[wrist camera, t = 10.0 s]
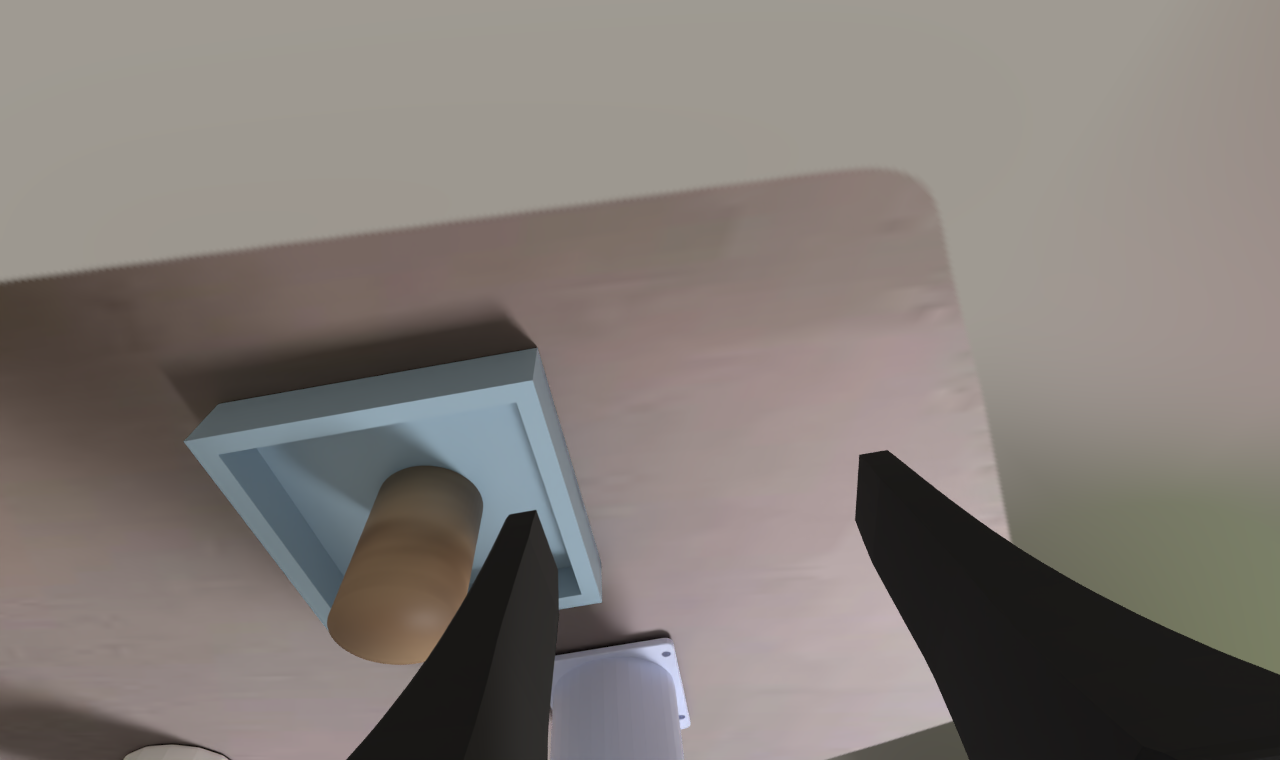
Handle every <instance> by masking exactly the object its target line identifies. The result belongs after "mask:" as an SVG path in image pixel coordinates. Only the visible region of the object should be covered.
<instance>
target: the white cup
mask: <svg viewBox="0 0 1280 760" xmlns="http://www.w3.org/2000/svg"><path fill="white" fill-rule="evenodd" d="M123 760H229V759H227V758H226V757H225V756H223V755H220V754H217V753H215V752H212V751H209V750H205V749H202V748H199V747H191V746H183V745H173V744H170V745H157V746H147V747H144V748H142V749H139V750H137V751H134V752H132V753H129V754H128V755H126V757H125V758H124V759H123Z"/></svg>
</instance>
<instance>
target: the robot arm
mask: <svg viewBox="0 0 1280 760" xmlns="http://www.w3.org/2000/svg"><path fill="white" fill-rule="evenodd" d="M855 521H856V523H857V526H858V529H859V531H860V534H861V536H862V539H863V541H864V544H865V546H866V549H867V551H868V554H869V556H870V558H871V561H872V563H873V565H874V567H875V569H876V571H877V573H878V574H879V576H880V578H881V580H882V582H883V584H884V585H885V587H886V589H887V591H888V593H889V595H890V596H891V598H892V600H893V602H894V604H895V605H896V607H897V609H898V611H899V613H900V615H901V616H902V618H903V620H904V622H905V624H906V625H907V627H908V629H909V631H910V633H911V634H912V636H913V638H914V640H915V642H916V643H917V645H918V647H919V649H920V651H921V652H922V654H923V656H924V658H925V660H926V662H927V664H928V666H929V668H930V670H931V672H932V674H933V676H934V678H935V680H936V683H937V685H938V687H939V689H940V692H941V694H942V696H943V699H944V701H945V703H946V705H947V708H948V710H949V712H950V715H951V717H952V719H953V722H954V724H955V726H956V729H957V731H958V733H959V736H960V738H961V741H962V743H963V745H964V748H965V750H966V752H967V755H968V757H969V760H1280V675H1279V674H1276V673H1274V672H1271V671H1269V670H1266V669H1264V668H1261V667H1259V666H1256V665H1253V664H1251V663H1248V662H1246V661H1243V660H1241V659H1238V658H1236V657H1233V656H1231V655H1227V654H1225V653H1223V652H1221V651H1218V650H1216V649H1213V648H1211V647H1209V646H1207V645H1204V644H1202V643H1200V642H1198V641H1195V640H1193V639H1191V638H1188V637H1186V636H1184V635H1182V634H1179V633H1177V632H1175V631H1173V630H1170V629H1168V628H1166V627H1164V626H1162V625H1160V624H1157V623H1155V622H1153V621H1151V620H1149V619H1147V618H1145V617H1143V616H1141V615H1138V614H1136V613H1134V612H1132V611H1131V610H1128V609H1126V608H1125V607H1123V606H1121V605H1119V604H1117V603H1115V602H1113V601H1111V600H1109V599H1107V598H1105V597H1103V596H1101V595H1099V594H1097V593H1095V592H1093V591H1092V590H1090V589H1088V588H1086V587H1084V586H1082V585H1080V584H1079V583H1076V582H1075V581H1073V580H1071V579H1070V578H1068V577H1066V576H1064V575H1063V574H1061V573H1059V572H1058V571H1056V570H1054V569H1053V568H1051V567H1049V566H1047V565H1046V564H1044V563H1042V562H1041V561H1039V560H1037V559H1036V558H1034V557H1032V556H1031V555H1029V554H1028V553H1026V552H1024V551H1023V550H1021V549H1020V548H1018V547H1016V546H1015V545H1013V544H1012V543H1011V542H1009V541H1008V540H1006V539H1005V538H1003V537H1002V536H1000V535H999V534H997V533H996V532H994V531H993V530H991V529H990V528H988V527H987V526H986V525H984V524H983V523H981V522H980V521H979V520H977V519H976V518H974V517H973V516H972V515H970V514H969V513H968V512H966V511H965V510H964V509H962V508H961V507H960V506H958V505H957V504H955V503H954V502H953V501H951V500H950V499H949V498H947V497H946V496H945V495H944V494H942V493H941V492H940V491H938V490H937V489H936V488H935V487H933V486H932V485H931V484H929V483H928V482H927V481H926V480H924V479H923V478H922V477H921V476H919V475H918V474H917V473H916V472H914V471H913V470H912V469H911V468H909V467H908V466H907V465H906V464H904V463H903V462H902V461H901V460H899V459H898V458H897V457H896V456H894V455H893V454H892V453H890V452H889V451H888V450H885V451H879V452H874V453H868V454H862V455H859V469H858V485H857V500H856V516H855ZM558 618H559V590H558V568H557V566H556V563H555V560H554V557H553V555H552V552H551V549H550V546H549V544H548V541H547V538H546V535H545V533H544V530H543V527H542V524H541V522H540V519H539V516H538V513H537V511H536V510H532V511H526V512H520V513H514V514H509V516H508V517H507V518H506V520H505V522H504V524H503V526H502V528H501V530H500V532H499V534H498V536H497V538H496V540H495V542H494V544H493V546H492V548H491V550H490V552H489V554H488V556H487V558H486V560H485V562H484V564H483V566H482V568H481V570H480V572H479V574H478V575H477V577H476V579H475V581H474V583H473V584H472V586H471V588H470V590H469V592H468V593H467V595H466V597H465V599H464V601H463V602H462V604H461V606H460V607H459V609H458V611H457V612H456V614H455V616H454V617H453V619H452V620H451V622H450V624H449V625H448V627H447V629H446V630H445V632H444V633H443V635H442V637H441V638H440V640H439V641H438V643H437V644H436V646H435V647H434V649H433V650H432V652H431V653H430V655H429V656H428V658H427V659H426V661H425V662H424V664H423V665H422V666H421V668H420V669H419V671H418V672H417V673H416V675H415V676H414V678H413V679H412V680H411V682H410V683H409V684H408V686H407V687H406V688H405V690H404V691H403V692H402V694H401V695H400V696H399V697H398V699H397V700H396V701H395V703H394V704H393V705H392V706H391V708H390V709H389V710H388V711H387V713H386V714H385V715H384V717H383V718H382V719H381V720H380V721H379V723H378V724H377V725H376V726H375V728H374V729H373V730H372V731H371V732H370V734H369V735H368V736H367V737H366V738H365V739H364V740H363V742H362V743H361V744H360V745H359V746H358V747H357V748H356V749H355V751H354V752H353V753H352V754H351V755H350V756H349V757H348V758H347V759H346V760H547V758H548V725H549V712H550V706H551V709H552V711H553V712H552V732H551V751H550V760H684V753H683V745H682V737H681V729H685V728H687V727H689V726H690V717H689V712H688V708H687V703H686V698H685V694H684V689H683V685H682V680H681V675H680V671H679V666H678V662H677V657H676V652H675V648H674V643H673V641H672V640H671V639H669V638H660V639H653V640H647V641H641V642H635V643H629V644H623V645H617V646H611V647H605V648H598V649H592V650H586V651H580V652H574V653H568V654H562V655H556V656H555V651H556V640H557V629H558Z"/></svg>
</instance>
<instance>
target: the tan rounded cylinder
mask: <svg viewBox="0 0 1280 760" xmlns="http://www.w3.org/2000/svg"><path fill="white" fill-rule="evenodd" d="M482 513H483V500H482V497H481V494H480V492H479V491H478V489H477V488H476V486H475V485H474V484H473V483H472V482H471V481H470V480H468V479H467V478H466V477H464V476H462V475H461V474H459V473H457V472H454V471H452V470H449V469H446V468H442V467H437V466H414V467H409V468H405V469H402V470H400V471H398V472H396V473H394V474H392V475H391V476H390V477H388V478H387V479H386V480H385V481H384V483H383V484H382V486H381V487H380V490H379V492H378V495H377V497H376V500H375V502H374V505H373V507H372V509H371V512H370V514H369V517H368V519H367V522H366V524H365V527H364V529H363V531H362V534H361V536H360V539H359V541H358V544H357V546H356V549H355V551H354V554H353V556H352V558H351V561H350V563H349V566H348V568H347V571H346V573H345V576H344V578H343V580H342V583H341V585H340V588H339V590H338V593H337V595H336V598H335V600H334V602H333V605H332V607H331V610H330V612H329V615H328V618H327V627H328V630H329V633H330V635H331V637H332V638H333V639H334V641H335V642H336V643H337V644H338V645H339V646H341V647H342V648H343V649H345V650H346V651H348V652H350V653H351V654H353V655H355V656H358V657H360V658H363V659H366V660H369V661H373V662H378V663H383V664H395V665H405V664H415V663H421V662H425V661H426V659H427V658H428V656H429V655H430V653H431V652H432V650H433V649H434V647H435V646H436V644H437V643H438V641H439V640H440V638H441V637H442V635H443V633H444V632H445V630H446V629H447V627H448V625H449V624H450V622H451V620H452V619H453V617H454V616H455V614H456V612H457V611H458V609H459V607H460V606H461V604H462V602H463V601H464V599H465V597H466V595H467V592H468V587H469V582H470V577H471V571H472V566H473V561H474V555H475V550H476V545H477V539H478V534H479V529H480V523H481V518H482Z"/></svg>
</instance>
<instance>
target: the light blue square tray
mask: <svg viewBox="0 0 1280 760" xmlns="http://www.w3.org/2000/svg"><path fill="white" fill-rule="evenodd" d="M184 443H185V444H186V445H187V447H188V448H189V449H190V451H191V452H192V453H193V454H194V456H195V457H196V458H197V460H198V461H199V462H200V464H201V465H202V466H203V468H204V469H205V470H206V471H207V473H208V474H209V475H210V477H211V478H212V479H213V481H214V482H215V483H216V485H217V486H218V487H219V488H220V490H221V491H222V492H223V494H224V495H225V496H226V498H227V499H228V500H229V502H230V503H231V504H232V505H233V507H234V508H235V509H236V511H237V512H238V513H239V515H240V516H241V517H242V519H243V520H244V521H245V523H246V524H247V525H248V526H249V528H250V529H251V530H252V532H253V533H254V534H255V536H256V537H257V538H258V540H259V541H260V542H261V543H262V545H263V546H264V547H265V549H266V550H267V551H268V553H269V554H270V555H271V557H272V558H273V559H274V560H275V562H276V563H277V564H278V566H279V567H280V568H281V570H282V571H283V572H284V574H285V575H286V576H287V578H288V579H289V580H290V581H291V583H292V584H293V585H294V587H295V588H296V589H297V591H298V592H299V593H300V595H301V596H302V597H303V598H304V600H305V601H306V602H307V604H308V605H309V606H310V608H311V609H312V610H313V612H314V613H315V614H316V615H317V617H318V618H319V619H320V621H321V622H322V623H323V625H324V626H325V627H326V629H327V630H328V627H327V618H328V615H329V612H330V610H331V607H332V605H333V602H334V600H335V598H336V595H337V593H338V590H339V588H340V585H341V583H342V580H343V578H344V576H345V573H346V571H347V568H348V566H349V563H350V561H351V558H352V556H353V554H354V551H355V549H356V546H357V544H358V541H359V539H360V536H361V534H362V531H363V529H364V527H365V524H366V522H367V519H368V517H369V514H370V512H371V509H372V507H373V505H374V502H375V500H376V497H377V495H378V492H379V490H380V487H381V486H382V484H383V483H384V481H385V480H386V479H387V478H388V477H390V476H391V475H392V474H394V473H396V472H398V471H400V470H402V469H405V468H409V467H414V466H437V467H442V468H446V469H449V470H452V471H454V472H457V473H459V474H461V475H462V476H464V477H466V478H467V479H468V480H470V481H471V482H472V483H473V484H474V485H475V486H476V488H477V489H478V491H479V492H480V494H481V497H482V500H483V513H482V518H481V523H480V529H479V534H478V539H477V545H476V550H475V555H474V561H473V566H472V571H471V577H470V582H469V587H468V592H469V590H470V588H471V586H472V584H473V583H474V581H475V579H476V577H477V575H478V574H479V572H480V570H481V568H482V566H483V564H484V562H485V560H486V558H487V556H488V554H489V552H490V550H491V548H492V546H493V544H494V542H495V540H496V538H497V536H498V534H499V532H500V530H501V528H502V526H503V524H504V522H505V520H506V518H507V517H508V516H509V514H514V513H520V512H526V511H532V510H536V511H537V513H538V516H539V519H540V522H541V524H542V527H543V530H544V533H545V535H546V538H547V541H548V544H549V546H550V549H551V552H552V555H553V557H554V560H555V563H556V566H557V568H558V590H559V609H565V608H571V607H578V606H584V605H590V604H596V603H602V575H601V560H600V557H599V554H598V550H597V547H596V543H595V540H594V537H593V533H592V530H591V527H590V523H589V520H588V517H587V513H586V510H585V506H584V503H583V500H582V496H581V493H580V490H579V486H578V483H577V479H576V476H575V473H574V469H573V466H572V463H571V459H570V456H569V452H568V449H567V446H566V442H565V439H564V436H563V432H562V429H561V425H560V422H559V419H558V415H557V412H556V409H555V405H554V402H553V398H552V395H551V392H550V388H549V385H548V382H547V378H546V375H545V371H544V368H543V365H542V361H541V358H540V355H539V351H538V348H533V349H527V350H521V351H516V352H510V353H504V354H499V355H493V356H487V357H482V358H476V359H471V360H465V361H459V362H454V363H448V364H442V365H437V366H431V367H425V368H420V369H414V370H408V371H403V372H397V373H391V374H386V375H380V376H374V377H369V378H363V379H357V380H352V381H346V382H340V383H335V384H329V385H323V386H318V387H312V388H306V389H301V390H295V391H289V392H284V393H278V394H272V395H267V396H261V397H255V398H250V399H244V400H238V401H233V402H227V403H221V404H218V405H217V406H216V407H215V408H214V409H213V410H212V411H211V412H210V413H209V415H208V416H207V417H206V418H205V419H204V420H203V421H202V422H201V423H200V424H199V425H198V426H197V427H196V429H195V430H194V431H193V432H192V433H191V434H190V435H189V436H188V437H187V438H186V439H185V440H184ZM468 592H467V593H468ZM328 631H329V630H328Z"/></svg>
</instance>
